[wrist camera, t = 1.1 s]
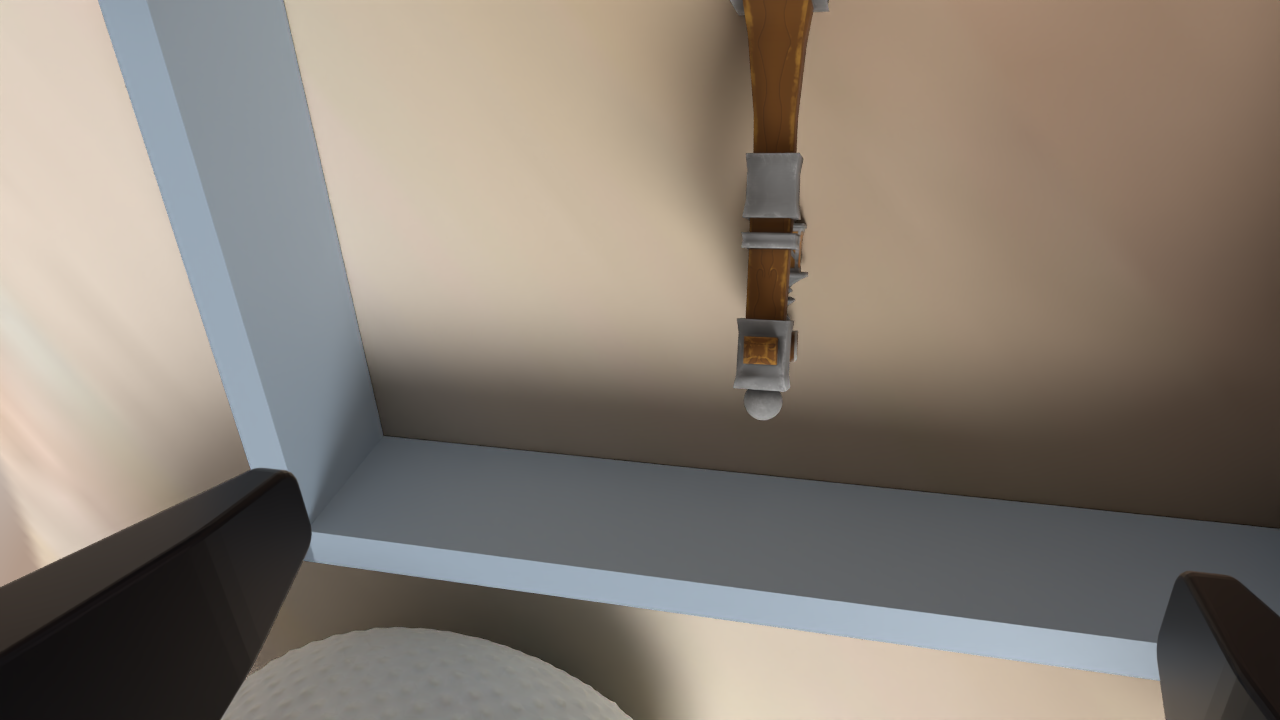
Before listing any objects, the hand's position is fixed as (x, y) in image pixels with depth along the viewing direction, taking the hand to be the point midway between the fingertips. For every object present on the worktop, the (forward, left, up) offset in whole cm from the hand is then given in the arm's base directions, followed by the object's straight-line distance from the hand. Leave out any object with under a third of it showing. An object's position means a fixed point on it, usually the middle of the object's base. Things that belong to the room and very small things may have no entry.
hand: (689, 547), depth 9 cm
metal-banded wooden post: (0, 0, -12) cm, 12 cm away
